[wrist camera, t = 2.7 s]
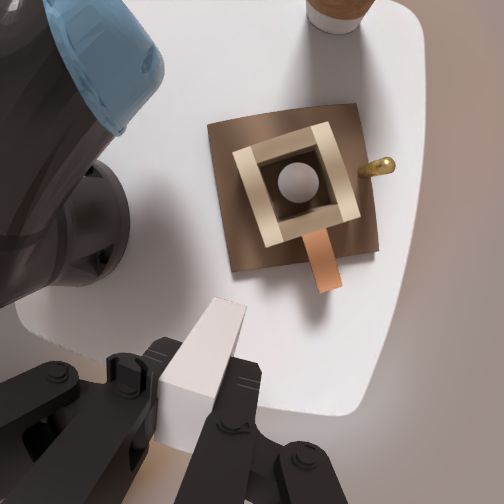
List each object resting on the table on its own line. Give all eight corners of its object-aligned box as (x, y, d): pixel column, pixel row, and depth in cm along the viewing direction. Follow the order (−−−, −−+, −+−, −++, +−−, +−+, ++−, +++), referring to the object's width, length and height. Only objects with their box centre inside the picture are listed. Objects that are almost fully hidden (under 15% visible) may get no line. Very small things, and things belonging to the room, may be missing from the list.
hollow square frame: (239, 158, 26) (232, 152, 22) (321, 131, 25) (327, 121, 21) (285, 289, 28) (285, 304, 24) (363, 263, 27) (375, 274, 23)
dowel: (358, 178, 25) (381, 174, 19) (356, 166, 25) (379, 157, 19) (370, 177, 25) (396, 172, 19) (368, 164, 25) (393, 156, 18)
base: (233, 269, 30) (220, 288, 23) (210, 127, 27) (190, 110, 21) (375, 248, 28) (398, 263, 21) (353, 106, 25) (370, 85, 19)
